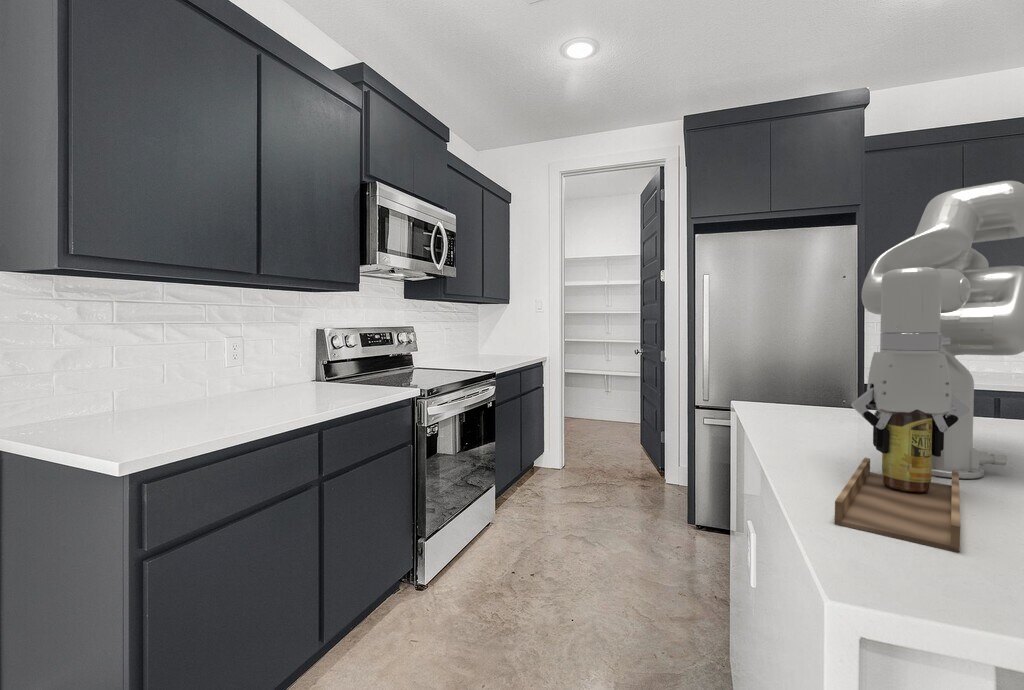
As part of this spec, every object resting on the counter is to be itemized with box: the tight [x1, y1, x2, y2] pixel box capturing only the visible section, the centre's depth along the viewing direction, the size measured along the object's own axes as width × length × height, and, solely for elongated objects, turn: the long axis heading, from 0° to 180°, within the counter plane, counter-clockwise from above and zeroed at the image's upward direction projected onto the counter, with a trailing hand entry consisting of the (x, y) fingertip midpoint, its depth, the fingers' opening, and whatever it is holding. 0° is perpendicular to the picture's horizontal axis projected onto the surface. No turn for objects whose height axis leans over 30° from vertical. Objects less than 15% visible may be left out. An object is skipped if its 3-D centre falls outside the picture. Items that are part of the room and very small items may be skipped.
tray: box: [834, 457, 961, 553], centre depth 72 cm, size 30×13×3 cm, turn 137°
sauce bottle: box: [881, 410, 932, 492], centre depth 78 cm, size 6×6×20 cm
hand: (907, 452), depth 78 cm, fingers closed on sauce bottle, 6 cm apart
